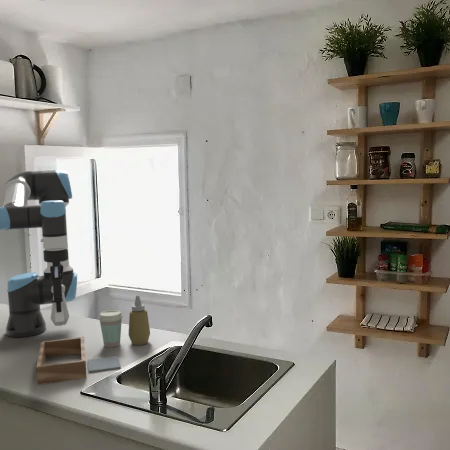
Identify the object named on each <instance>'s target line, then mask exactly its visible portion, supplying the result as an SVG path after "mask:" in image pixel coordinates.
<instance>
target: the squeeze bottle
mask: <svg viewBox="0 0 450 450" xmlns="http://www.w3.org/2000/svg"><path fill="white" fill-rule="evenodd" d="M149 322H150V321H149V315H148V311H147V310H146V309H145V304H144V303H142V300H141V297H140V295H139V294H138V295H136V296H135V300H134V304H132V305H131V311H130V312H129V321H128V338H129V340H130V342H131V344H132V345H134V346H143V345H146V344H148V342H149V339H150V336H151V328H150V323H149Z"/></svg>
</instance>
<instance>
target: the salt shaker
mask: <svg viewBox="0 0 450 450" xmlns="http://www.w3.org/2000/svg"><path fill="white" fill-rule="evenodd" d="M51 292H52V293H53V286H52V288H51ZM64 292H65V286H64V285H62V299H63V309H64V321H61V322H55V309H54V303H52V305H51V313H50V320H51V322H52V324H53V325H54V326H55V327H56V326H57V327H58V326H59V327H60V326H65V325H67V324H68V322H69V321H68V320H69V318H70V313H69V309H68V304H67V302H66V300H65V296H64ZM53 301H54V294H53Z"/></svg>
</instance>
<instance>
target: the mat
mask: <svg viewBox="0 0 450 450" xmlns="http://www.w3.org/2000/svg"><path fill="white" fill-rule="evenodd" d="M87 364H88V365H87V367H88V373H97V372H104V371H113V370H118V369H119V370H120V369H121V362H120V359H119V355H114V356H113V355H112V356H107V357H98V358H92V359H91V358H90V359H87Z"/></svg>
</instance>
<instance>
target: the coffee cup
mask: <svg viewBox="0 0 450 450" xmlns="http://www.w3.org/2000/svg"><path fill="white" fill-rule="evenodd" d="M121 312H122V311H120V310H115V309H112V310H111V309H110V310H104V311H101V312H100V313H99V317H98V321H99V323H100V324H99V325H100V330H101V335H102V341H103V346H104V347H106V348H115V347H118V346H119V345H120V344H121V334H122V319H123V314H122V313H121Z"/></svg>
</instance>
